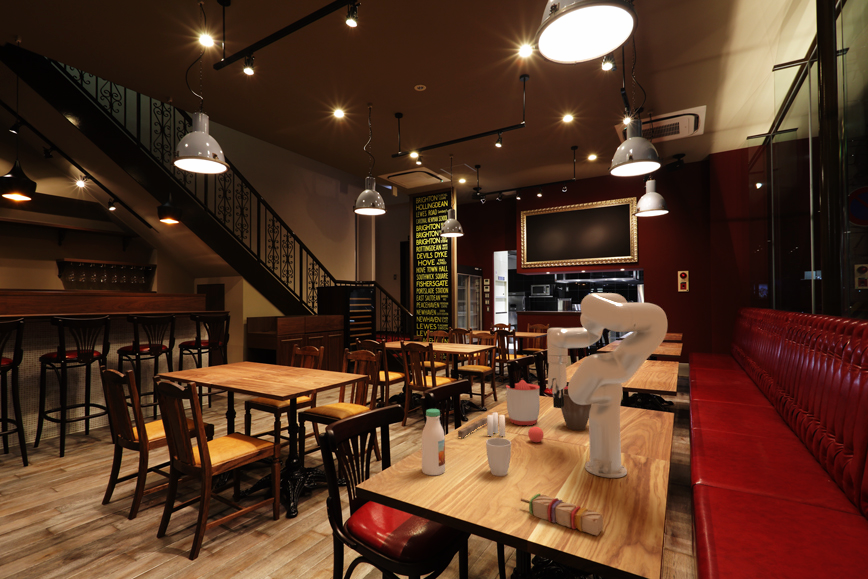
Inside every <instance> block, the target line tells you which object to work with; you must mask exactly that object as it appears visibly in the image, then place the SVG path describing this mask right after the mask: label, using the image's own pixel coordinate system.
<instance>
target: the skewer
mask: <svg viewBox="0 0 868 579" xmlns="http://www.w3.org/2000/svg"><path fill="white" fill-rule="evenodd" d="M520 502H522V503H527V504H528V505H529V507H528V510H529V513H530V514H531V515H533V516H534V517H537V518H539V519H542V520H546V521H548V522H549V523H553V524H555V523H557V524H559V525H560V526H563V527H567V528H571V529H572V530H576V529H577V530H578V531H580V532H584V533H588V534H590V535H592V536H593V535H594V536H596V537H597V536H599V535H600V532H602V530H603V526H604V519H603V518H604V517H603V514H602V513H599V512H596V511H593V510H590V509H588V508H587V507H581V506H579V505H576V504H573V503H571V502H570V503H569V502H565V501H563V500H562V499H559V498H558V497H557V498H556V497H555V498H554V497H550V496H548V495H545V494H541V493H536V494H535V495H533V496H532V497H531V498H530V500H528V499H525V498H521V499H520Z"/></svg>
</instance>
